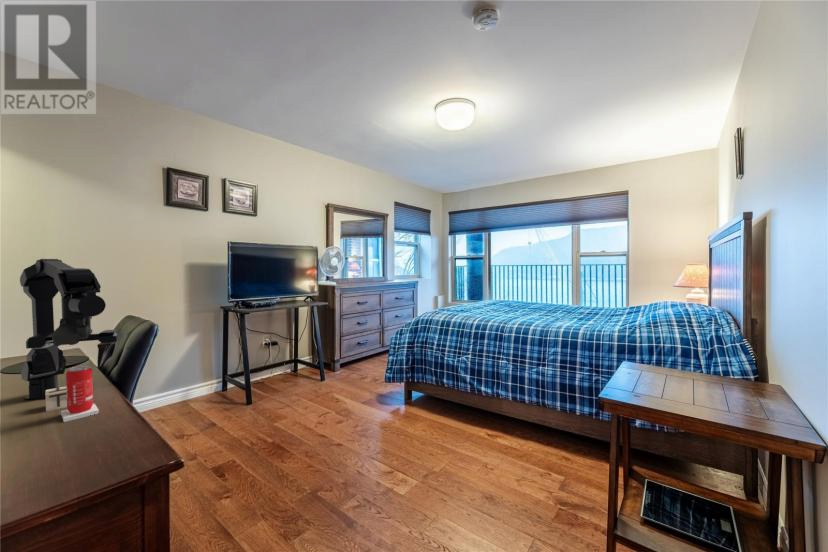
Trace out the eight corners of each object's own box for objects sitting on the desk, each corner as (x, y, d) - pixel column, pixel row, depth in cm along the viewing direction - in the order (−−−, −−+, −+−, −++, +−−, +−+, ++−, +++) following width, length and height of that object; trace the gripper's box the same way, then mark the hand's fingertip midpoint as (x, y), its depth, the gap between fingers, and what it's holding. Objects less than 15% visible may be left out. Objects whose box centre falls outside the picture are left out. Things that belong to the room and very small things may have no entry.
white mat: (61, 414, 97) (60, 411, 97) (94, 406, 102) (94, 403, 102) (63, 422, 93) (63, 418, 92) (98, 413, 98) (98, 410, 98)
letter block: (46, 406, 103) (45, 389, 102) (70, 401, 106) (69, 385, 106) (46, 412, 99) (45, 394, 99) (70, 406, 103) (70, 389, 102)
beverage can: (77, 415, 94) (75, 371, 94) (62, 413, 95) (60, 370, 95) (98, 407, 100) (96, 366, 99) (83, 405, 101) (82, 364, 100)
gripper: (12, 320, 86) (14, 382, 86) (108, 315, 94) (110, 372, 94) (36, 314, 96) (38, 369, 96) (122, 310, 104) (123, 361, 105)
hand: (78, 368), depth 98 cm, fingers open, 9 cm apart
